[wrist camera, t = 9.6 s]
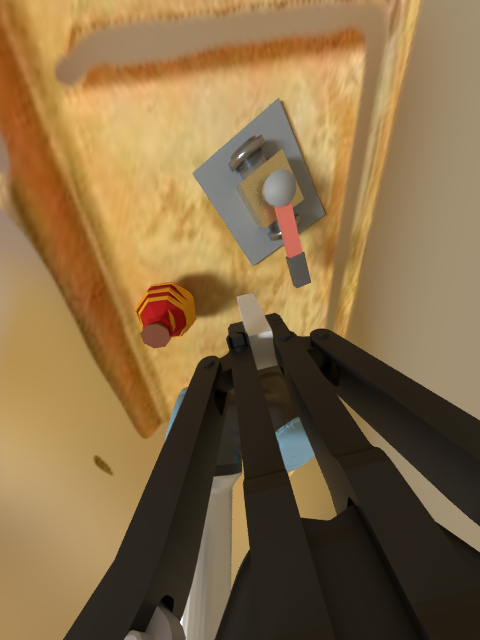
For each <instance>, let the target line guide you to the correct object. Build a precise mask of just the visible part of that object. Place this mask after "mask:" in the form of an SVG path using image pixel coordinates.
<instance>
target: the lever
mask: <svg viewBox="0 0 480 640" xmlns="http://www.w3.org/2000/svg"><path fill="white" fill-rule="evenodd" d="M295 192H296V180H295V177H294V176H293V174H292V173H291V172H290V171H288V170H286V169H279V170H276V171H274V172H273V173H272V174H270V175H269V176H268V177H267V178H266V180H265V181H264V184H263V188H262V194H263V198H264V200H265V202H266V203H267V204H268V205H270V206H272V207H274V208H275V212H276V215H277V219H278V223H279V227H280V231H281V234H282V238H283V242H284V246H285V250H286V253H287V257H286V260H287V263H288V267H289V271H290V275H291V278H292V282H293V285H294V286H295V287H296V288H299V287H301V286H304V285H306V284H309V283H311V280H310V276H309V271H308V267H307V262H306V258H305V253H304V252H302V248H301V244H300V239H299V235H298V230H297V226H296V221H295V217H294V212H293V208H292V203H291V200H292V199H293V197H294V195H295Z"/></svg>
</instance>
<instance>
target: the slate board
mask: <svg viewBox="0 0 480 640" xmlns="http://www.w3.org/2000/svg"><path fill="white" fill-rule="evenodd" d="M254 135H256V137H258V136H260V135H262V136H263V138H264V140H265V142H266V143H265V145H264V146H263V147H262V150H263V152H264V154H265V156H266V159H267V161H268V160H269V159H270V158H271V157H273V156H274V155H275V154H276V153H278V152H279V151H280V150H281V149H283V151H284V154H285V156H286V158H287V161H288V163H289V165H290V168H291V170H292V172H293V174H294V177H295V179H296V181H297V184H298V186H299V188H300V190H301V193H302V195H303V197H304V200H302V201H301V202H300V203H298V204H297V205H296V206H294V207H293V212H294V215H295V214H299V215H300V218H301V220H302V221H301V223H300V224H299V225H298V228H297V230H298V234H299V233H300V232H301V231H303V230H304V229H306V228H307V227H308V226H310V225H311V224H313V223H314V222H315V221H317V220H318V219H320V218H321V217H322V216H324V215H325V212H324V210H323V207H322V205H321V202H320V200H319V197H318V195H317V192H316V190H315V187H314V185H313V182H312V180H311V177H310V175H309V172H308V170H307V167H306V165H305V162H304V160H303V157H302V155H301V152H300V150H299V147H298V145H297V142H296V140H295V137H294V135H293V132H292V130H291V127H290V125H289V122H288V120H287V117H286V115H285V112H284V110H283V108H282V105H281V103H280V100H279V98H278V99H277V100H275V101H274V102H273V103H272V104H271V105H270V106H269V107H267V108H266V109H265V110H264V111H263V112H262V113H261V114H259V115H258V116H257V117H256V118H255V119H254V120H253V121H251V122H250V123H249V124H248V125H247V126H246V127H245V128H243V129H242V130H241V131H240V132H239V133H238V134H237V135H235V136H234V137H233V138H232V139H231V140H230V141H229V142H227V143H226V144H225V145H224V146H223V147H222V148H220V149H219V150H218V151H217V152H216V153H215V154H214V155H212V156H211V157H210V158H209V159H208V160H207V161H206V162H204V163H203V164H202V165H201V166H200V167H199V168H198V169H196V170H195V171H194V172H193V175H194V177H195V178H196V180H197V181H198V183H199V184H200V186H201V187H202V189H203V190H204V192H205V193H206V195H207V196H208V198H209V200H210V201H211V203H212V204H213V206H214V207H215V209H216V210H217V212H218V213H219V215H220V216H221V218H222V219H223V221H224V222H225V224H226V226H227V227H228V229H229V230H230V232H231V233H232V235H233V236H234V238H235V239H236V241H237V242H238V244H239V245H240V247H241V249H242V250H243V252H244V253H245V255H246V256H247V258H248V259H249V261H250V262H251V264H252V265H253V266H254V265H255V264H257V263H258V262H259V261H261V260H262V259H264V258H265V257H266V256H268V255H269V254H271V253H272V252H273V251H275V250H276V249H278V248H279V247H280V246H282V245H283V244H284V242H283V239H281V240H274V241H271V240H270V239H269V237H268V233H269V232H270V229H269V227H266V228H261V227H257V225H256V223H255V222H254V220H253V218H252V216H251V215H250V213H249V211H248V209H247V208H246V206H245V204H244V203H243V201H242V199H241V197H240V196H239V194H238V192H237V190H236V189H235V188H236V187H237V186H238V185H239V184H240V183H241V182H242V181H243V180H242V178H241V176H240V174H239V173H238V171H237V170H235V171H234V172H232V171H231V170H230V168H229V166H228V164H229V162H230V161H231V158H230V157H231V156H232V154H233V153H234V152H235V151H236V150H237V149H238V148H239V147H240V146H241V145H242V144H243V143H244V142H246V141H247V140H248V139H249V138H251V137H252V136H254Z"/></svg>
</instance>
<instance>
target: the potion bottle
mask: <svg viewBox="0 0 480 640" xmlns="http://www.w3.org/2000/svg"><path fill="white" fill-rule="evenodd" d="M167 284H168V285H167ZM158 285H160V286H158ZM135 311H136V314H137V317H138V320H139V323H140V326H141V328H142V329H143V331H142V332H141V333H140V334H141V337H142V339H143V342H144V343H145V344H147V345H149V346H151V347H153V348H159V347H165V346H166V345H167V343H168V342H169V341H170V340H171V338H172V337H180V336H182V335H183V334H184V333H185V332H187V331H188V329H189V328H190V327H191V325H192V324H193V323H194V322H195V320H196V313H195V304H194V297H193V296H192V295H191V294H190V292H189V291H187V290H186V289H184V288H182V287H180V286H179V285H177V284H176V283H162V284H156V285H151V286H150V288H149V289H148V291H147V292H146V293H145V294H144V296H143V297H142V298H141V300H140V301H139V302H138V304H137V305H136V306H135ZM137 311H138V312H137Z"/></svg>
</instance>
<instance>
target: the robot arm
mask: <svg viewBox="0 0 480 640" xmlns="http://www.w3.org/2000/svg"><path fill="white" fill-rule="evenodd" d="M237 301H238V306H239V310H240V314H241V318H242V322H238V323H234V324H230V326H229V328H228V332H229V335H228V336H227V338H226V340H227V344H228V347H229V350H230V351H229V352H228V354H226V355H225V356H223V357H222V358H220V359H219V358H218V357H216V356H208V357H205V358H203V359H202V360H201V361H200V362H199V363H198V365H197V368H196V370H195V372H194V375H193V377H192V379H191V382H190V384H189V386H188V387H186V388H184V389H183V390H182V391H181V392H180V394H179V395H178V398H177V400H176V403H175V406H174V409H173V412H172V415H171V419H170V422H169V426H168V429H167V434H166V437H165V443H164V445H163V448H162V450H161V452H160V454H159V457H158V459H157V461H156V464H155V466H154V469H153V471H152V474H151V476H150V478H149V480H148V483H147V485H146V487H145V490H144V492H143V494H142V497H141V499H140V501H139V504H138V506H137V509H136V511H135V513H134V515H133V518H132V520H131V523H130V525H129V527H128V530H127V532H126V534H125V536H124V539H123V541H122V544H121V546H120V548H119V551H118V553H117V555H116V558H115V560H114V562H113V563H112V565H111V566H110V568H109V569H108V571H107V572H106V574H105V576H104V577H103V579H102V580H101V582H100V583H99V585H98V587H97V588H96V590H95V591H94V593H93V594H92V596H91V597H90V599H89V600H88V602H87V603H86V605H85V607H84V608H83V610H82V611H81V613H80V614H79V616H78V617H77V619H76V620H75V622H74V624H73V625H72V627H71V628H70V630H69V631H68V633H67V634H66V636H65V638H64V639H63V640H480V552H478V551H477V550H476V549H474V548H473V547H471V546H470V545H468V544H467V543H466V542H464V541H463V540H461V539H460V538H458V537H457V536H456V535H454V534H453V533H451V532H450V531H448V530H447V529H446V528H444V527H443V526H441V525H440V524H438V523H437V522H435V521H434V519H433V518H432V517H431V515H430V514H429V512H428V511H427V510H426V508H425V507H424V506H423V504H422V503H421V501H420V500H419V498H418V497H417V496H416V494H415V493H414V492H413V490H412V489H411V487H410V486H409V485H408V483H407V482H406V481H405V479H404V478H403V476H402V475H401V473H400V472H399V471H398V469H397V468H396V466H395V465H394V464H393V462H392V461H391V460H390V458H389V457H388V456H387V455H386V453H385V452H384V451H383V450H381V449H380V448H378V447H374V446H372V445H371V444H370V443H369V441H368V440H367V438H366V437H365V435H364V434H363V432H362V431H361V430H360V428H359V427H358V425H357V424H356V422H355V421H354V419H353V418H352V416H351V415H350V413H349V412H348V410H347V409H346V407H345V406H344V404H343V403H342V402H341V400H340V399H339V397H341V398H342V399H343V400H344V401H345V402H346V403H347V404H348V405H349V406H350V407H351V408H352V409H353V410H354V411H355V412H356V413H358V414H359V415H360V416H361V417H362V418H363V419H364V420H365V421H366V422H367V423H368V424H369V425H370V426H371V427H372V428H373V429H375V431H377V432H378V433H379V434H380V435H381V436H382V437H383V438H384V439H385V440H386V441H387V442H388V443H389V444H390V445H391V446H392V447H393V448H395V449H396V450H397V451H398V452H399V453H400V454H401V455H402V456H403V457H404V458H405V459H406V460H407V461H408V462H409V463H410V464H412V465H413V466H414V467H415V468H416V469H417V470H418V471H419V472H420V473H421V474H422V475H423V476H424V477H425V478H427V480H429V481H430V482H431V483H432V484H433V485H434V486H435V487H436V488H437V489H438V490H439V491H440V492H441V493H442V494H443V495H445V496H446V497H447V498H448V499H449V500H450V501H451V502H452V503H453V504H454V505H456V506H457V507H458V508H459V509H460V510H461V511H462V512H463V513H464V514H466V515H467V516H468V517H469V518H470V519H472V520H473V521H474V522H475V523H477V524H478V525H479V526H480V420H478V419H477V418H475V417H473V416H472V415H470V414H468V413H467V412H465V411H463V410H462V409H460V408H458V407H457V406H455V405H453V404H452V403H450V402H448V401H447V400H445V399H443V398H442V397H440V396H438V395H437V394H435V393H433V392H432V391H430V390H428V389H427V388H425V387H424V386H422V385H420V384H419V383H417V382H415V381H413V380H412V379H410V378H408V377H407V376H405V375H404V374H402V373H400V372H399V371H397V370H395V369H394V368H392V367H390V366H388V365H387V364H385V363H384V362H382V361H380V360H379V359H377V358H375V357H374V356H372V355H370V354H369V353H367V352H365V351H364V350H362V349H360V348H359V347H357V346H356V345H354V344H352V343H350V342H349V341H347V340H346V339H344V338H342V337H341V336H339V335H337V334H336V333H334V332H332V331H330V330H328V329H316V330H313V331H312V332H311V333H310V336H305V337H301V336H297V335H296V334H295V333H294V332H292V331H289V329H288V328H287V326H286V324H285V323H284V321H283V320H282V318H281V317H280V315H278V314H276V313H273V314H269V315H265V316H264V314H263V312H262V310H261V308H260V306H259V304H258V302H257V300H256V298H255V296H254V294H253V293H249V294H245V295H241V296H237ZM337 395H338V396H339V397H338V396H337ZM314 455H315V457H316V459H317V461H318V464H319V466H320V469H321V471H322V473H323V476H324V478H325V480H326V483H327V485H328V488H329V490H330V493H331V496H332V500H333V504H334V507H335V510H336V513H337V516H336V517H334V518H333V519H331V520H328V521H327V520H317V519H308V518H300V515H299V511H298V507H297V504H296V500H295V497H294V494H293V490H292V487H291V483H290V480H289V476H288V473H287V472H290V471H293V470H295V469H297V468H299V467H301V466H302V465H304V464H305V463H307V462H308V461H309V460H310V459H312V458H313V457H314ZM242 459H243V467H244V481H243V489H244V500H245V509H246V517H247V527H248V536H249V545H250V550H249V551H248V553H247V554H246V556H245V558H244V560H243V562H242V564H241V566H240V568H239V570H238V573H237V575H236V578H235V581H234V584H233V587H232V590H231V553H232V491H233V490H232V488H233V485H234V484H235V482H236V481H237V480H238V478H239V477H240V476H241V475H242Z"/></svg>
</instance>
